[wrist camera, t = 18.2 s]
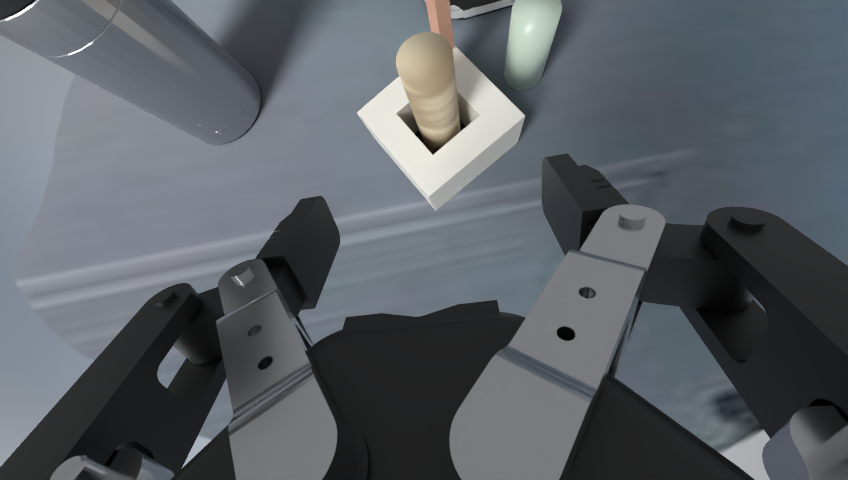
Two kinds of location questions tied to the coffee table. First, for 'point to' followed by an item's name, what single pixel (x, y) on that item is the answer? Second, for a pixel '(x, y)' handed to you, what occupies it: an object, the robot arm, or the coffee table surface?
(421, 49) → the birch pin
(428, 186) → the socket block
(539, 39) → the sage pin
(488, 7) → the gaming console
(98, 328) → the coffee table surface
